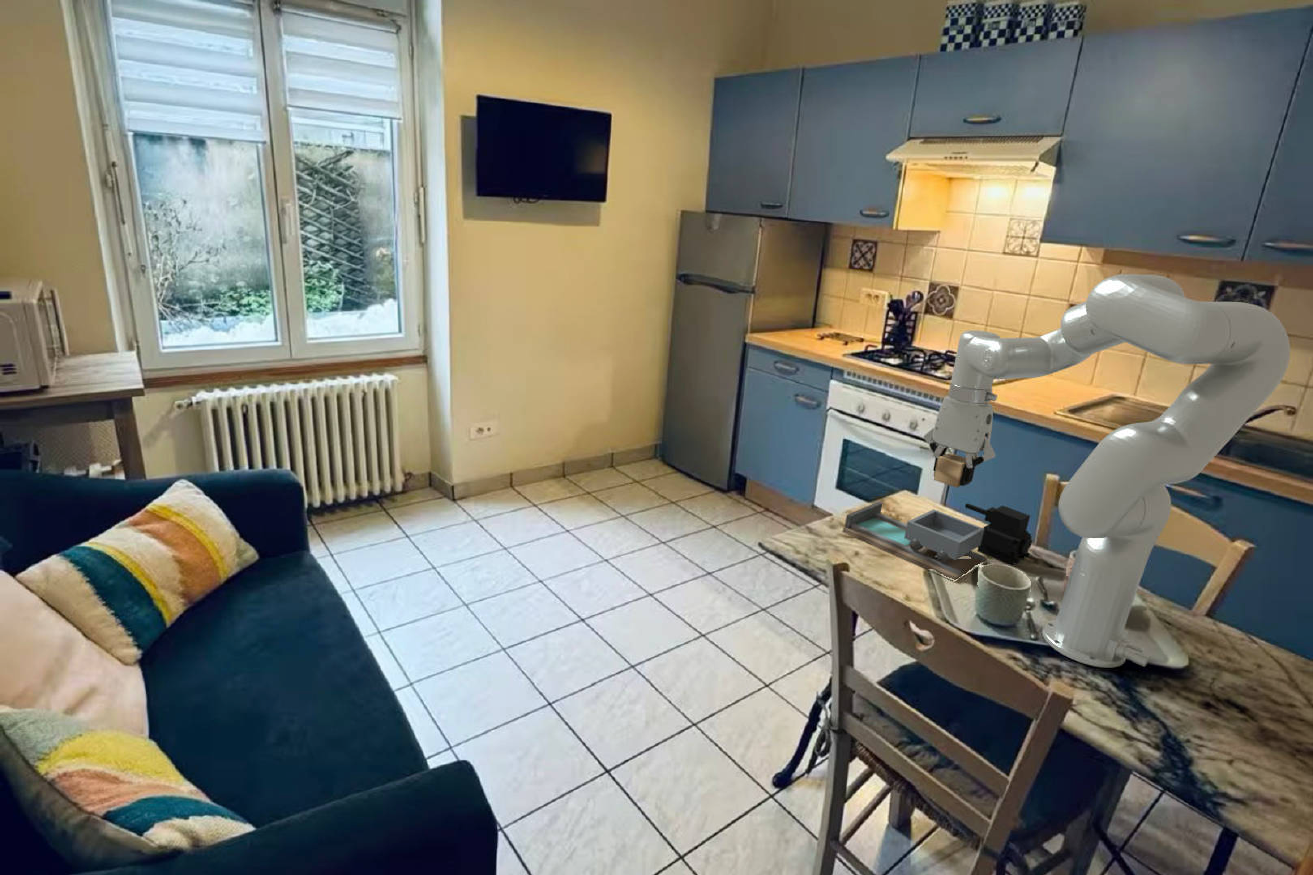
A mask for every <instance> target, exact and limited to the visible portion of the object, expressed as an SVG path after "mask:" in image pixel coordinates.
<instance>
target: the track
mask: <svg viewBox="0 0 1313 875" xmlns="http://www.w3.org/2000/svg"><path fill="white" fill-rule="evenodd" d="M882 508H883V502H880V501H876V502H874V503H872V504H870V505H868V506H864V507H862V508H860V509H857V510H855V511H853V512H850V513H848V514H846V517H845V522H844V527H843V528H842V533H845V534H847V535H849V536H851V537H853V538H855V539H858V540H860V541H862V542H865V543H867V544H869V545H871V546H873V547H875V548H878V549H880V550H882V551H885V552H887V553H888V554H891V555H893V556H896V557H898V558H900V559H902V560H904V561H906V562H908V563H911V564H914V565H915V566H917V567H920V568H922V569H924V570H926V571H928V570H927V569H934V570H936V571H937V572H939V573H940V574H943V575H944V576H946V577H949V578H952V579H954V580H956V579H958V578H959V577H961V576H962V575H963V574H966V573H967V572H968V571H969V570H971V569H972V568H973V567H974V566H975V565H978V564H980V563H981V562H985V561H986V562H987V560H988V558H987V557H986V556H985V555H984V554H981V553H978V552H975V551H973V550H972V551H970V552H968V553H967V554H965V555H963V556H969V557H971V559H956V560H954V559H952V558H951V559H950V560H949V561H947V562H946V563H941V562H940V561H939V560H938V559H937V557H935V556H937V553H938V552H936V551H933V550H931V549H929V548H926V547H924V546H923V548H922V549H920V550H918V551H914V550H912V549H911V548H910V545H909V544H910V540H908V539H905V538H904V537H905V532H906V527H907V523H905V522H902V521H900V520H898V519H895V518H892V517H890V516H888V515H885V514H883V513H881V512H882Z"/></svg>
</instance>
